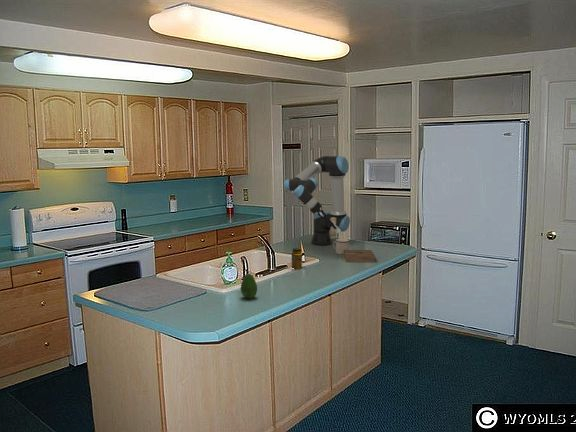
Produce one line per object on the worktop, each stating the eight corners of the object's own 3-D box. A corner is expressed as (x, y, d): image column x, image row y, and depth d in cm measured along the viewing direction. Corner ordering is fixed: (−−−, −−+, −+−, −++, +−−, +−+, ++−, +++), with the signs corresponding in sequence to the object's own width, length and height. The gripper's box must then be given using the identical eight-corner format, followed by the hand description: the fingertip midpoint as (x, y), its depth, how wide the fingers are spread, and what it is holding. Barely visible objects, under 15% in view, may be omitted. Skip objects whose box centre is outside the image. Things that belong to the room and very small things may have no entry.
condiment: (304, 269, 306) (304, 249, 304) (292, 271, 302) (293, 250, 300) (297, 266, 312) (297, 247, 310) (286, 268, 308) (286, 248, 306)
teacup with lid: (351, 253, 350) (351, 236, 348) (343, 255, 343) (344, 238, 341) (336, 250, 358) (337, 233, 356) (329, 252, 351) (329, 235, 349)
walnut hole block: (343, 256, 339) (343, 249, 339) (370, 256, 339) (371, 249, 339) (346, 262, 324) (346, 255, 323) (374, 262, 323) (374, 255, 323)
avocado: (248, 294, 255) (248, 271, 253) (260, 297, 250) (260, 273, 248) (237, 298, 249) (237, 274, 247) (249, 301, 244) (248, 277, 242)
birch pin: (329, 237, 331) (330, 217, 329) (335, 237, 331) (336, 217, 329) (330, 238, 328) (330, 218, 326) (336, 238, 328) (336, 218, 326)
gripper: (308, 207, 335) (333, 233, 337) (309, 211, 319) (336, 238, 321) (317, 199, 334) (342, 225, 336) (318, 203, 318) (344, 229, 320)
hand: (339, 231), depth 329 cm, fingers closed on birch pin, 3 cm apart
